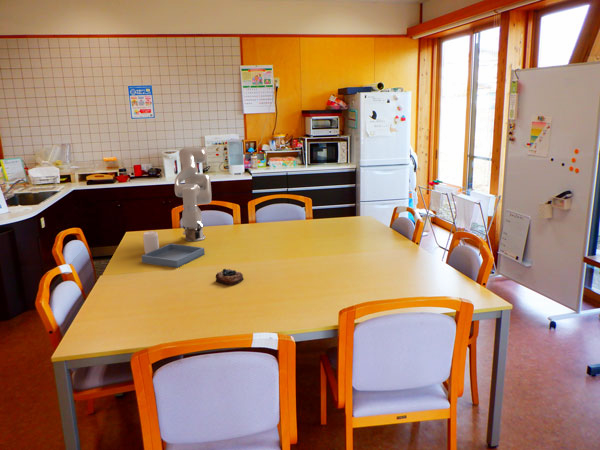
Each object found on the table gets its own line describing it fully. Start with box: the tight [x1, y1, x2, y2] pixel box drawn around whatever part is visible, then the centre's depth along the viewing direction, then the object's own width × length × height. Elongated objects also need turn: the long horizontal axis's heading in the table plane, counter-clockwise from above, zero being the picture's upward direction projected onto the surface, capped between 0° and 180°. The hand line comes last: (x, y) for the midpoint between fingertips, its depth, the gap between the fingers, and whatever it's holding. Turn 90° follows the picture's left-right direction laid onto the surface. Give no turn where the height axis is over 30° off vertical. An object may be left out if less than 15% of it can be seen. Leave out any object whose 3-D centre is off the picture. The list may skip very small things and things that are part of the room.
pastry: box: [215, 268, 244, 286], centre depth 229 cm, size 11×12×6 cm
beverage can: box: [142, 230, 160, 254], centre depth 274 cm, size 8×8×12 cm
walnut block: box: [184, 228, 200, 242], centre depth 279 cm, size 6×6×6 cm
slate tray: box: [140, 243, 206, 269], centre depth 264 cm, size 24×24×4 cm
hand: (193, 237), depth 280 cm, fingers closed on walnut block, 6 cm apart
